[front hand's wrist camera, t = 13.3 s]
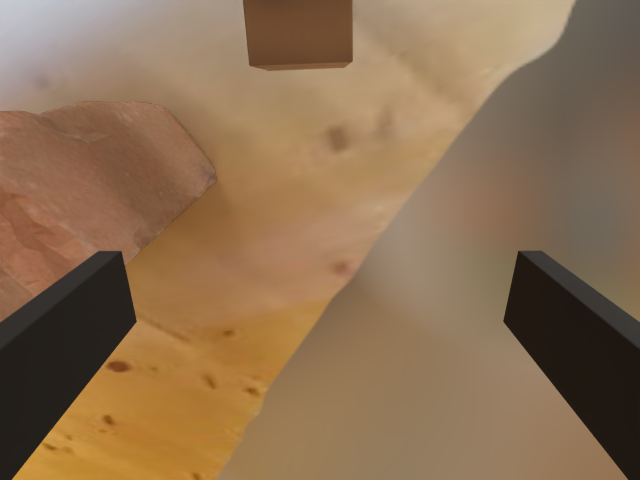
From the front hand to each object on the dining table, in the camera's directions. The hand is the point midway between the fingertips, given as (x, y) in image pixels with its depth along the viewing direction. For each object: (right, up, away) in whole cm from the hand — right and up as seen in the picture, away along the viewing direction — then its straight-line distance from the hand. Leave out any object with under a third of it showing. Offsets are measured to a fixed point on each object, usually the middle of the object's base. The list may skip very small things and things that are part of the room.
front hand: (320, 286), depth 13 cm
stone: (-23, +8, +33) cm, 41 cm away
